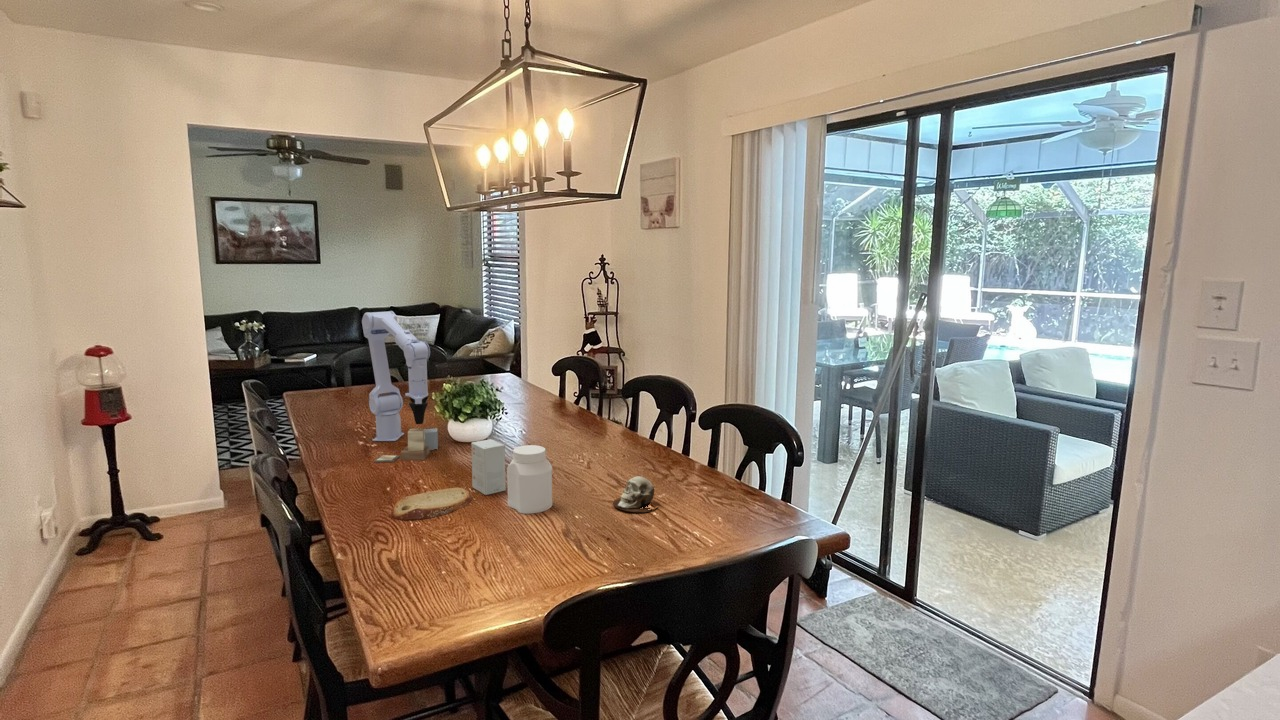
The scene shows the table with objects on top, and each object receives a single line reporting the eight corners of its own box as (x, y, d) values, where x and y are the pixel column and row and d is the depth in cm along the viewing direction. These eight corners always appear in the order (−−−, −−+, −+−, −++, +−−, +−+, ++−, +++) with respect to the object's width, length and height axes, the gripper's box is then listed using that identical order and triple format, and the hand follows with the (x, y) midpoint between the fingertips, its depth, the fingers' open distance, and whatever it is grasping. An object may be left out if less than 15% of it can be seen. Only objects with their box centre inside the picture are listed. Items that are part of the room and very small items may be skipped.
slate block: (423, 446, 227) (423, 429, 226) (437, 445, 228) (437, 428, 227) (423, 450, 223) (422, 432, 222) (437, 449, 224) (437, 431, 223)
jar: (502, 503, 177) (501, 447, 175) (534, 495, 183) (533, 441, 181) (525, 516, 169) (524, 458, 166) (557, 507, 175) (557, 451, 172)
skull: (632, 515, 168) (616, 478, 172) (616, 531, 175) (600, 495, 179) (670, 503, 175) (654, 468, 179) (653, 519, 182) (637, 485, 186)
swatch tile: (380, 456, 215) (380, 454, 215) (399, 456, 215) (399, 454, 215) (373, 462, 209) (373, 460, 209) (393, 462, 210) (393, 460, 209)
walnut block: (407, 454, 219) (407, 445, 219) (429, 454, 219) (429, 445, 219) (400, 461, 212) (400, 452, 212) (423, 461, 212) (423, 452, 212)
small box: (506, 490, 187) (505, 444, 184) (485, 495, 183) (484, 449, 180) (492, 482, 193) (491, 438, 191) (471, 487, 189) (470, 442, 187)
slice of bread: (473, 495, 184) (473, 481, 183) (461, 521, 166) (461, 506, 166) (406, 496, 183) (405, 482, 182) (386, 522, 165) (385, 507, 164)
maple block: (410, 447, 217) (410, 429, 216) (425, 446, 218) (424, 428, 217) (408, 451, 213) (407, 432, 212) (423, 450, 213) (422, 432, 212)
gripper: (405, 376, 223) (406, 416, 225) (404, 384, 209) (405, 427, 212) (427, 375, 225) (429, 415, 227) (428, 383, 212) (429, 426, 214)
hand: (419, 420), depth 220 cm, fingers open, 7 cm apart
